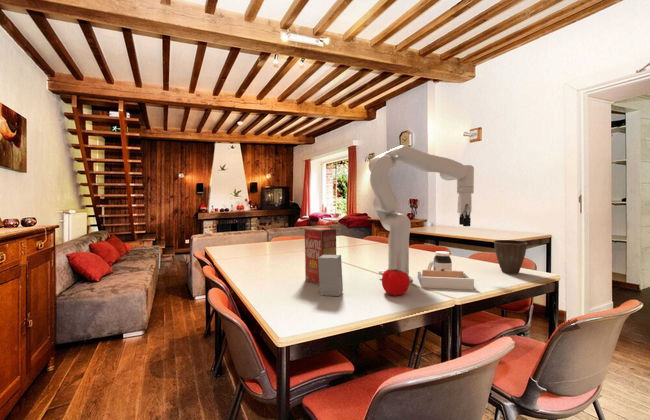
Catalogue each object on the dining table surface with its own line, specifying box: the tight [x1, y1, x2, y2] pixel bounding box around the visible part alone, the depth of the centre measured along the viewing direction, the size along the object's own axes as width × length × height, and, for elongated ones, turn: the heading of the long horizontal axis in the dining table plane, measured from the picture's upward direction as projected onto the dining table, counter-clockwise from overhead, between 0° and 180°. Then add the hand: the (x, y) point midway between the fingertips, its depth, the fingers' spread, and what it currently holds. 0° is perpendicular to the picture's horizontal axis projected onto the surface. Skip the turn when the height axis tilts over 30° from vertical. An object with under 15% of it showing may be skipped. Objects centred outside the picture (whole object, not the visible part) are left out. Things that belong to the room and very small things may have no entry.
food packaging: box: [304, 226, 337, 285], centre depth 151 cm, size 13×9×25 cm
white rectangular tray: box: [417, 271, 475, 291], centre depth 146 cm, size 21×17×4 cm
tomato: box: [381, 269, 411, 297], centre depth 131 cm, size 11×13×10 cm
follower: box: [421, 269, 464, 278], centre depth 150 cm, size 18×2×6 cm, turn 79°
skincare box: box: [318, 254, 344, 297], centre depth 131 cm, size 8×7×16 cm
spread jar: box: [426, 250, 453, 271], centre depth 162 cm, size 12×11×12 cm
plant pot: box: [493, 239, 528, 275], centre depth 166 cm, size 15×15×16 cm
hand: (464, 225), depth 158 cm, fingers open, 9 cm apart
